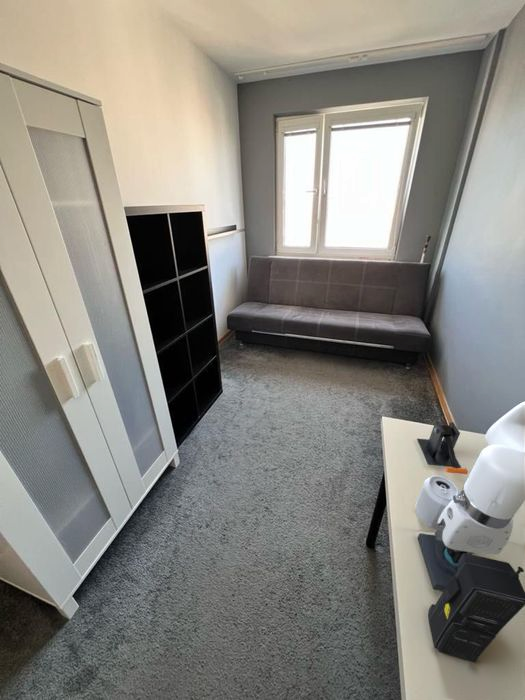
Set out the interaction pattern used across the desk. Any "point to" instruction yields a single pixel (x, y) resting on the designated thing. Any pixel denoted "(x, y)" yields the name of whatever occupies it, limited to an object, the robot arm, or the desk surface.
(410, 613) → the desk surface
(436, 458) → the kettle bracket
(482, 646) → the portable radio
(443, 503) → the can
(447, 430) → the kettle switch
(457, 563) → the socket button
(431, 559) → the socket block
